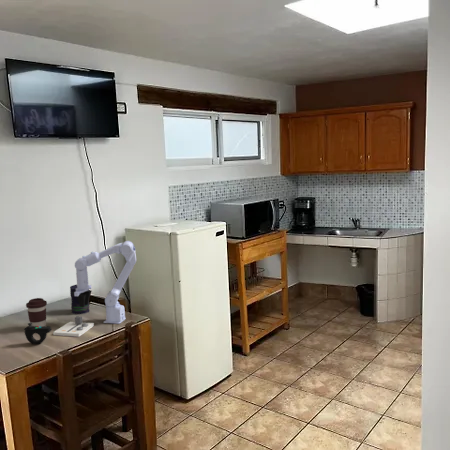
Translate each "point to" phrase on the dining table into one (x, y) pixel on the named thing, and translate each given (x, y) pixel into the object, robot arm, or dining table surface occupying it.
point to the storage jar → (77, 303)
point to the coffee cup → (37, 311)
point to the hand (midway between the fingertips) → (84, 305)
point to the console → (73, 329)
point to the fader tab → (78, 320)
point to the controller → (38, 330)
